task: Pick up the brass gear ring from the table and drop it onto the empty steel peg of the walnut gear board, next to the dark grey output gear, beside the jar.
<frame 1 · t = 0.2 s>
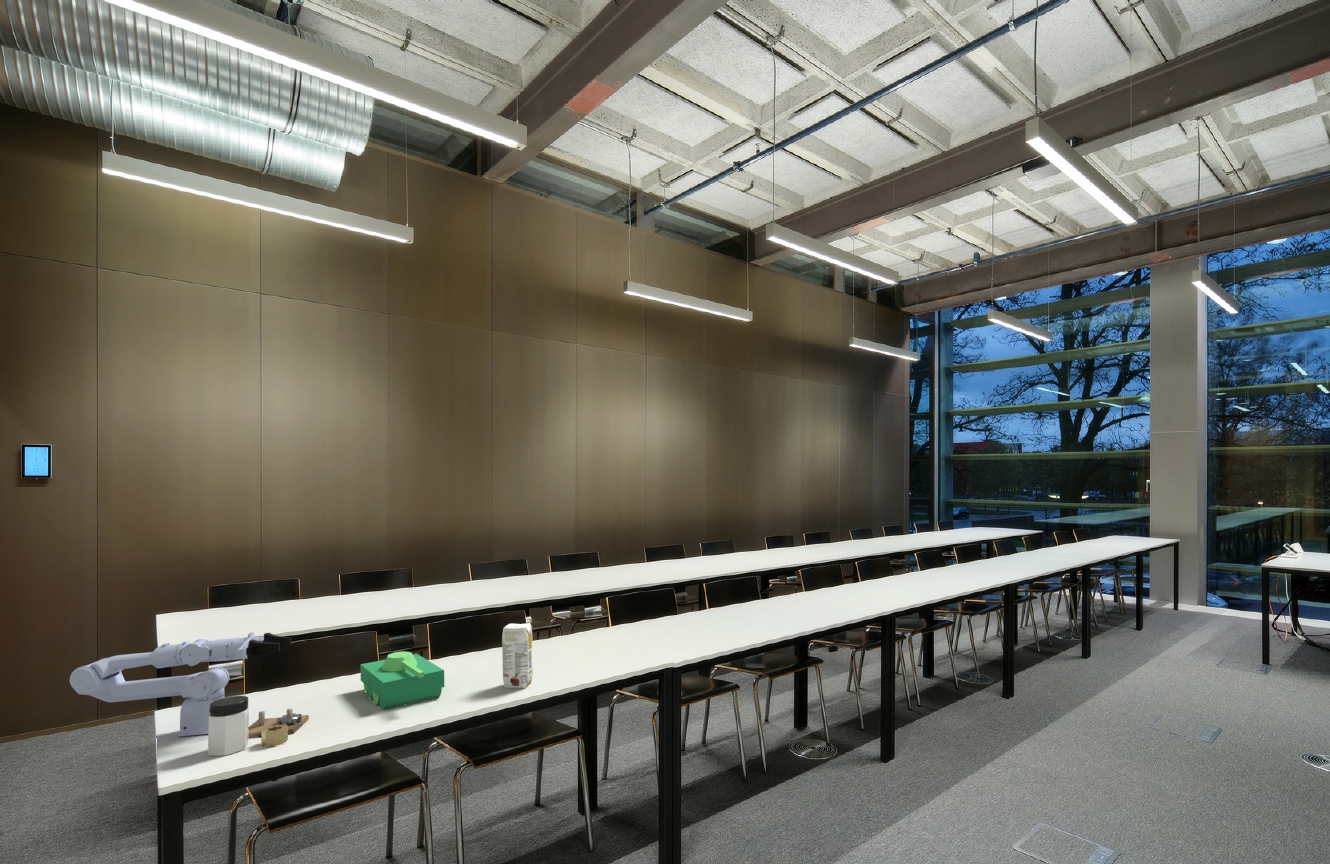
hand: (285, 644, 183), 22 cm above the table, tool horizontal, fingers open, 7 cm apart
output gear: (289, 727, 179), resting on gear board
jar: (228, 750, 164), on the table
gear board: (275, 728, 178), on the table
gear ring: (274, 742, 168), on the table
toy tank: (405, 698, 202), on the table
juice carton: (518, 686, 210), on the table
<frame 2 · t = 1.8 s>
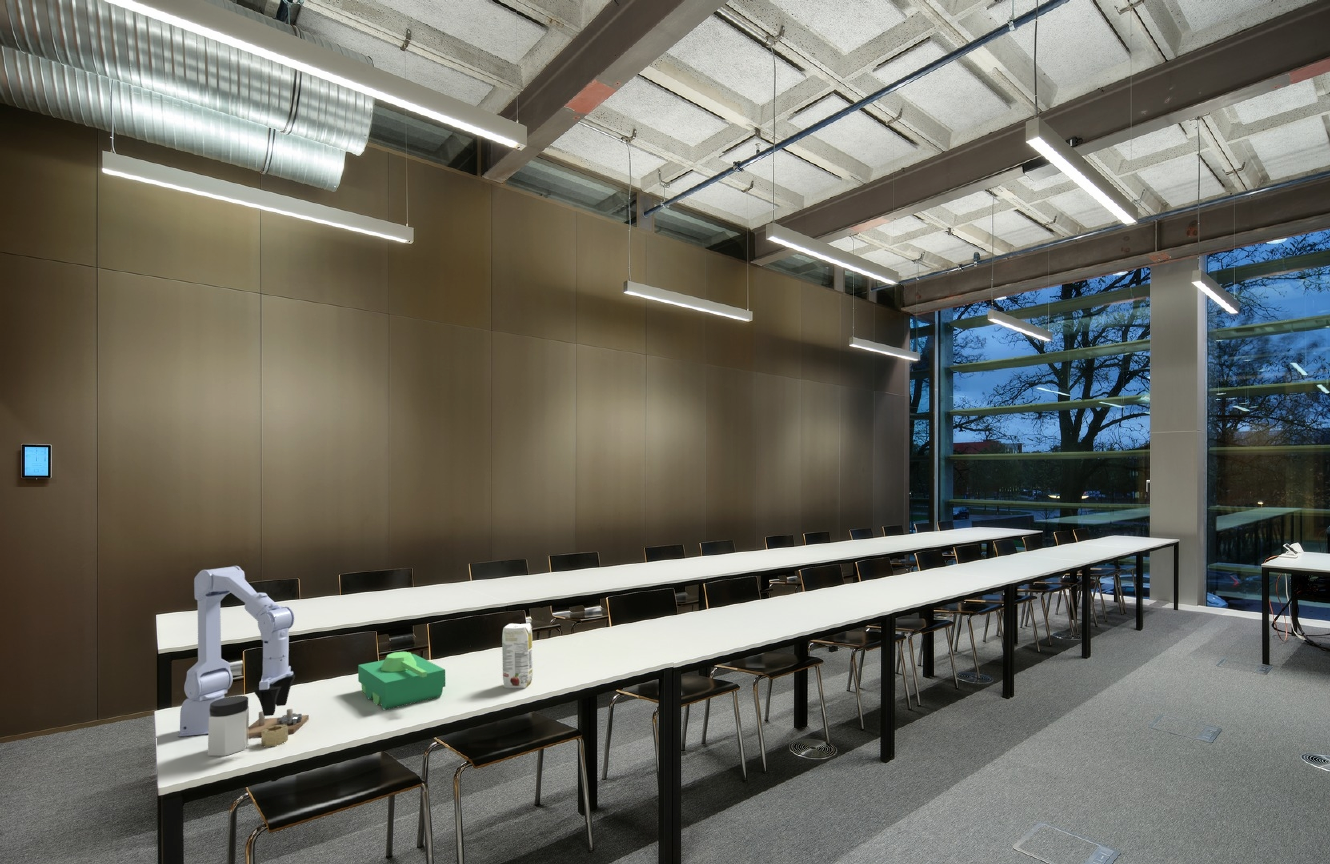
hand: (275, 710, 169), 8 cm above the table, tool pointing down, fingers open, 7 cm apart
nothing on the table moved.
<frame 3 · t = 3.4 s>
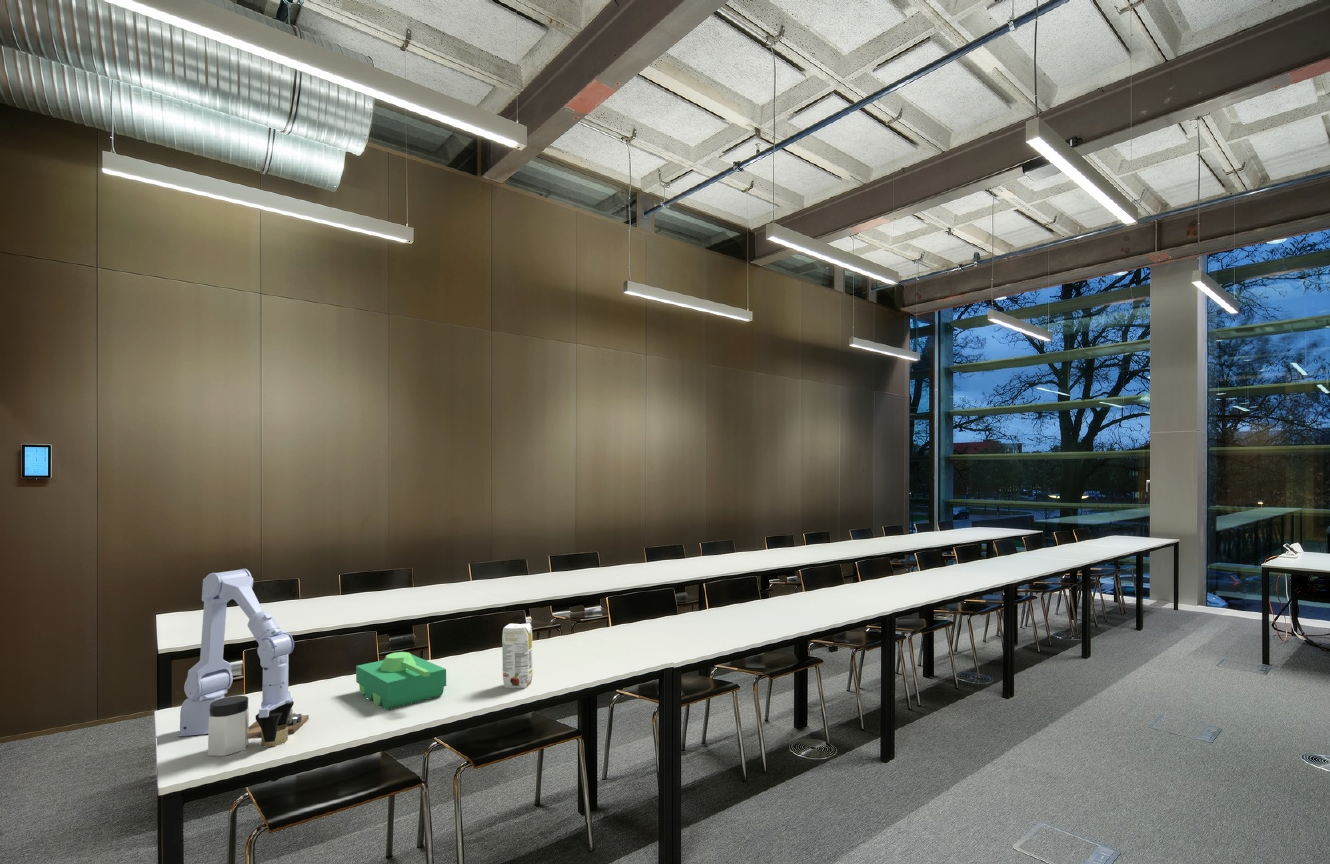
hand: (274, 736, 168), 1 cm above the table, tool pointing down, fingers closed on gear ring, 5 cm apart
gear ring: (274, 742, 168), on the table, touching gripper
everything else where it was.
when the fingers open (4 cm above the table, at t = 7.2 s): gear ring drops 2 cm, resting on gear board.
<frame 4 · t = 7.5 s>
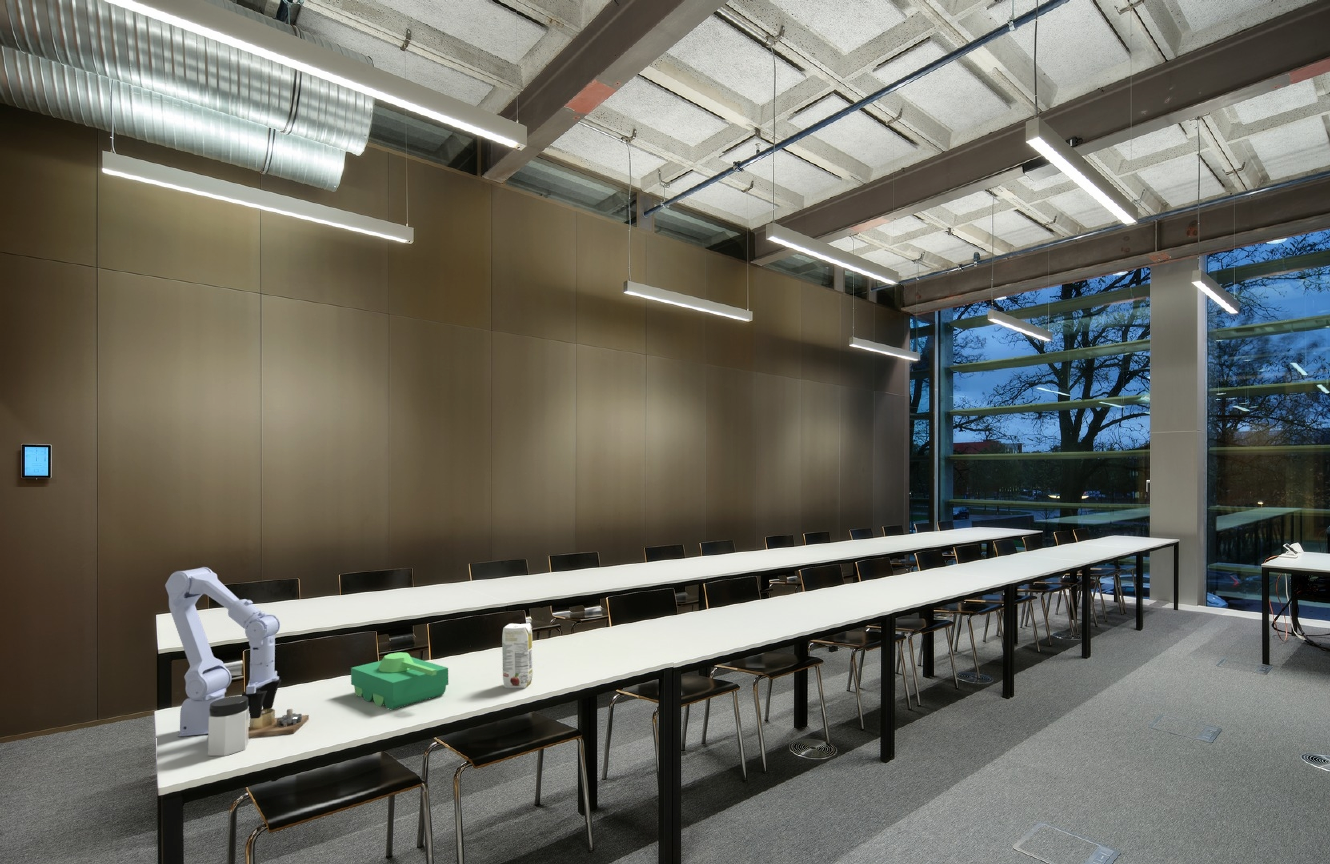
hand: (261, 713, 178), 4 cm above the table, tool pointing down, fingers open, 7 cm apart
gear ring: (262, 725, 178), point 1 cm above the table, touching gear board
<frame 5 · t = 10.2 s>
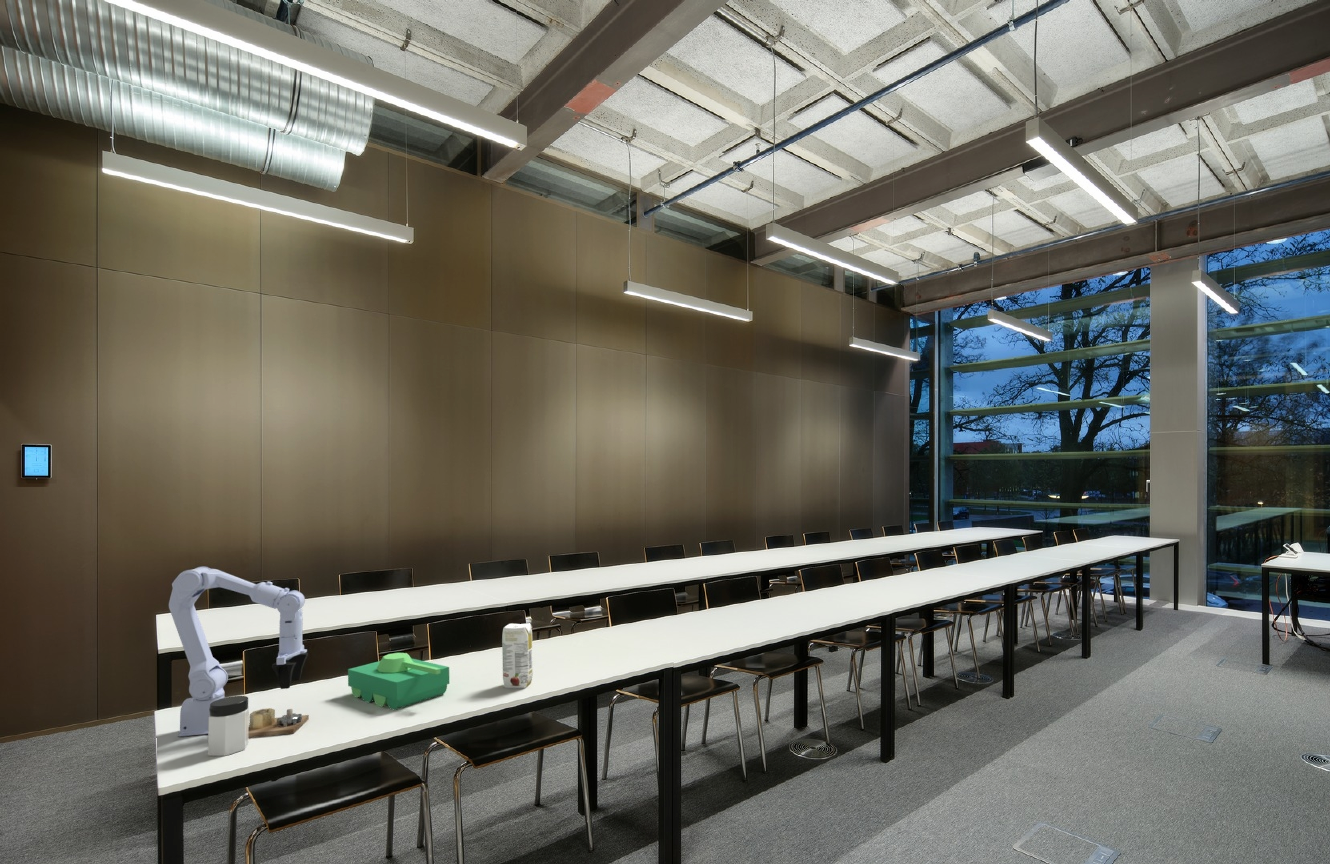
hand: (290, 684, 185), 10 cm above the table, tool pointing down, fingers open, 7 cm apart
at the end: gear ring 0.1 cm from the target spot, point 1.2 cm above the table; the gripper is holding nothing; gear ring tilted 0° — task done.
